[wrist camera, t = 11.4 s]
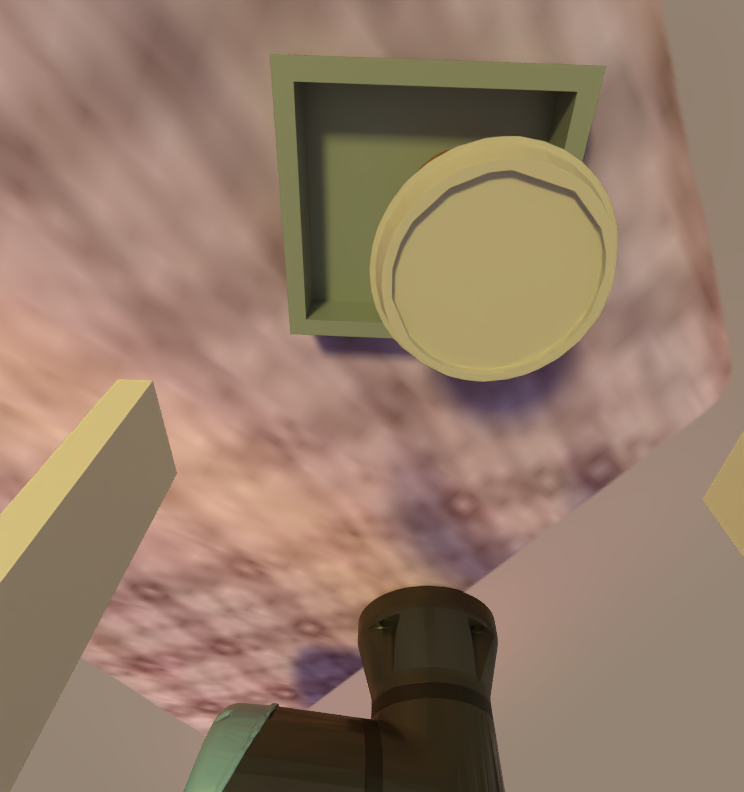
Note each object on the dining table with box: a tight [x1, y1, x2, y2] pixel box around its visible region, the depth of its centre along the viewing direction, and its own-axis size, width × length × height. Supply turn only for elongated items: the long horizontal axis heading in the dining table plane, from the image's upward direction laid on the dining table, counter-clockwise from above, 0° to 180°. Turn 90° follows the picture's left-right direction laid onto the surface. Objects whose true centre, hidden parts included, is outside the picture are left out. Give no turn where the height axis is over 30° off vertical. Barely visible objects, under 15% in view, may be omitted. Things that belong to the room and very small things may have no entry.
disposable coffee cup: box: [369, 136, 617, 382], centre depth 23 cm, size 10×10×12 cm
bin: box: [270, 54, 606, 338], centre depth 27 cm, size 14×15×4 cm
